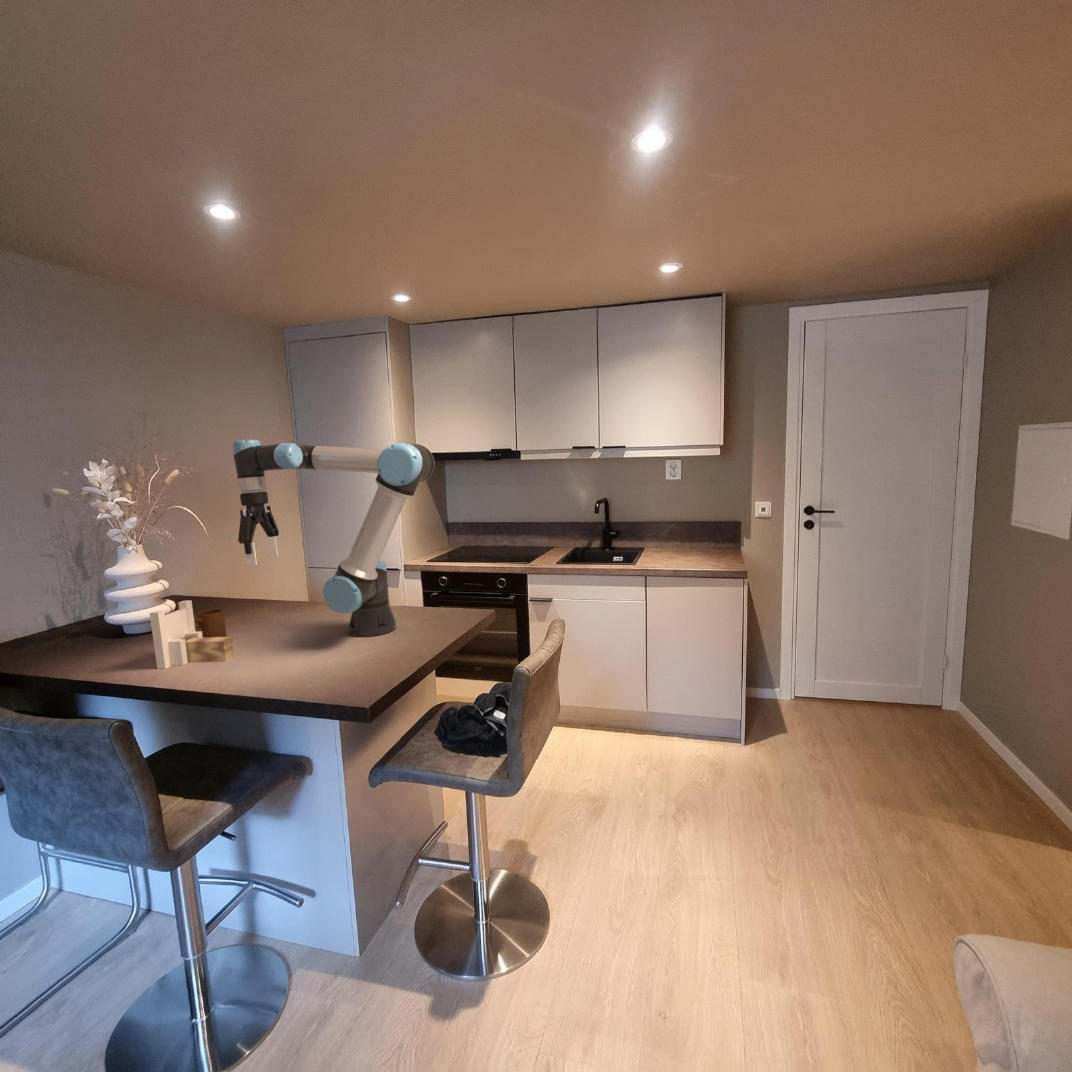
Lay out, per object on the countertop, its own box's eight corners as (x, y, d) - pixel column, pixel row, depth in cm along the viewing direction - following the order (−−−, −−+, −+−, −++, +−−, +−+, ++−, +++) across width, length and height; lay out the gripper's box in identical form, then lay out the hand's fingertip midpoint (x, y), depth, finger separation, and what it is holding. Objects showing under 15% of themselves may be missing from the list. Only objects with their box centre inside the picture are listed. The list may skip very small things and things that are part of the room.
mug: (198, 649, 174) (195, 619, 173) (181, 647, 177) (177, 618, 175) (232, 637, 185) (228, 609, 184) (215, 636, 188) (211, 608, 186)
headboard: (209, 651, 171) (203, 600, 169) (177, 668, 158) (170, 612, 155) (190, 651, 172) (183, 600, 170) (157, 668, 158) (149, 613, 156)
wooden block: (234, 656, 166) (231, 635, 165) (225, 661, 162) (223, 639, 161) (188, 657, 167) (185, 636, 166) (179, 662, 163) (176, 640, 162)
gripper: (261, 490, 183) (270, 555, 186) (217, 495, 159) (229, 569, 161) (284, 488, 183) (293, 553, 186) (244, 492, 159) (255, 567, 161)
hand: (263, 560), depth 174 cm, fingers open, 13 cm apart
